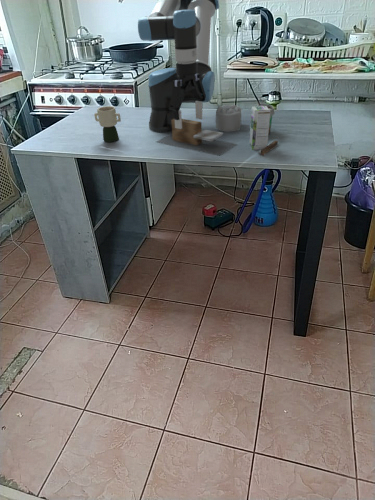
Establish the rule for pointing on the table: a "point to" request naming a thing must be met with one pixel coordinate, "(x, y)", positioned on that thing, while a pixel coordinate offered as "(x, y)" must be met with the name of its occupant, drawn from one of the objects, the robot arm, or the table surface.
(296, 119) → the table surface
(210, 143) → the tool mat
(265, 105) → the food container
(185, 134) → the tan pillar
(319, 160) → the table surface
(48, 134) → the table surface
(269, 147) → the bar
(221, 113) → the grey rounded piece
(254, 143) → the syrup box
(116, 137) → the trophy cup
